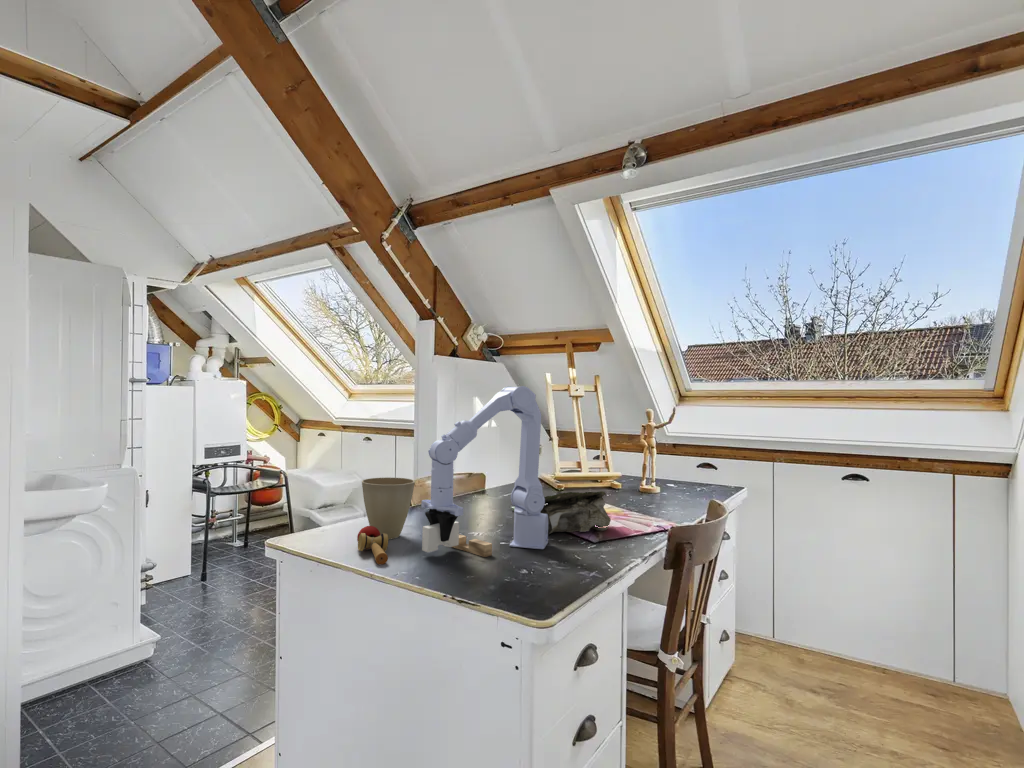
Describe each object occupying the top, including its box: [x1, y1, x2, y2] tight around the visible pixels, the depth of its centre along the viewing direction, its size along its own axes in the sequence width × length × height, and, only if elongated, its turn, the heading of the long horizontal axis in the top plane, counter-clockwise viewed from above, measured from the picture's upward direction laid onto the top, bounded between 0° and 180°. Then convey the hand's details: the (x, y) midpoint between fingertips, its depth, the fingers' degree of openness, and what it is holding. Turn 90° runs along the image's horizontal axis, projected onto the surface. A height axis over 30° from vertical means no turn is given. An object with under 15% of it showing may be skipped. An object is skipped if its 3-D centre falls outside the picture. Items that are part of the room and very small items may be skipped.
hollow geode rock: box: [540, 490, 611, 536], centre depth 168 cm, size 28×13×15 cm
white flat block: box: [421, 521, 460, 553], centre depth 143 cm, size 2×10×6 cm, turn 136°
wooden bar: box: [452, 533, 493, 558], centre depth 147 cm, size 16×2×3 cm, turn 47°
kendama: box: [356, 525, 389, 565], centre depth 140 cm, size 8×6×18 cm
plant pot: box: [361, 476, 416, 540], centre depth 158 cm, size 15×15×16 cm
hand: (441, 539), depth 143 cm, fingers closed on white flat block, 2 cm apart
